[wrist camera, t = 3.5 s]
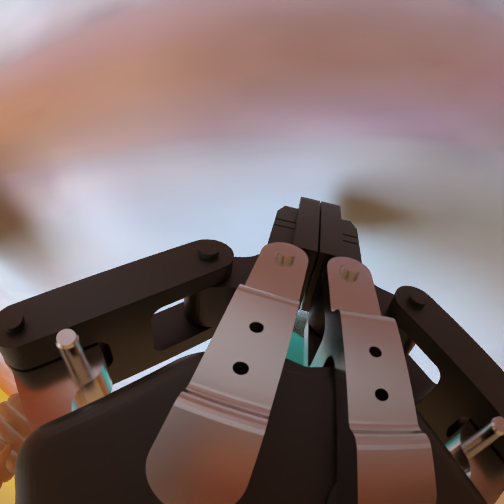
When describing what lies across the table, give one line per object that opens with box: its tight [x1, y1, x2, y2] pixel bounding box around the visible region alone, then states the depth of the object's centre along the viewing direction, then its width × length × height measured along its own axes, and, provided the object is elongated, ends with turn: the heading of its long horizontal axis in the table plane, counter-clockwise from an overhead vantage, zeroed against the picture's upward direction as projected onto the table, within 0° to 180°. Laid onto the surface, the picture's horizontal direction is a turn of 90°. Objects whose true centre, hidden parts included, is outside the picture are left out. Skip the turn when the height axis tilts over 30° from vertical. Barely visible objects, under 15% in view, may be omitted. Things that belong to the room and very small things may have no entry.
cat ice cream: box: [0, 393, 32, 488], centre depth 29 cm, size 9×8×18 cm
